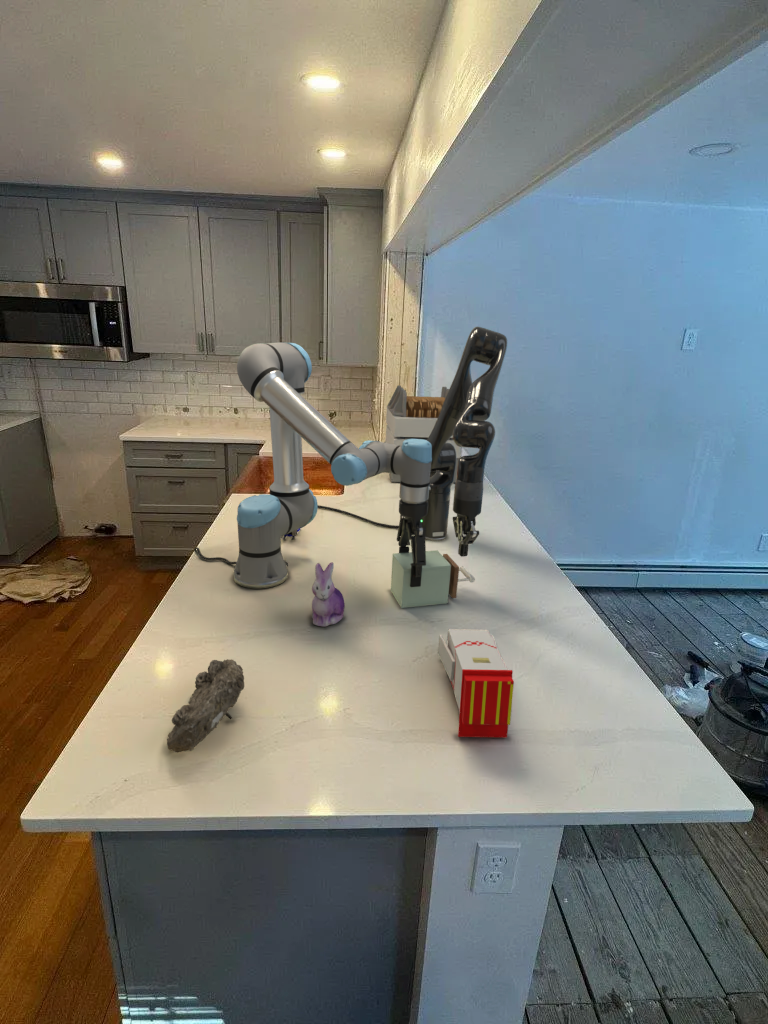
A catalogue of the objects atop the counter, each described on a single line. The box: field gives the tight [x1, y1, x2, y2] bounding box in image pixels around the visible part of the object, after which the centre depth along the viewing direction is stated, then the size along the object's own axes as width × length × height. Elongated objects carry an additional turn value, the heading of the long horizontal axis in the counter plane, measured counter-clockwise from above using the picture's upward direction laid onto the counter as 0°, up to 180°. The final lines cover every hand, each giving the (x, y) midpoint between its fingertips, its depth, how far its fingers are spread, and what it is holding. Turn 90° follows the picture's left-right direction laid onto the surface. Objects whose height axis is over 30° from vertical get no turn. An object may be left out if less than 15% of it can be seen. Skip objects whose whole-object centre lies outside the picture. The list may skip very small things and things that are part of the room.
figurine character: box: [282, 528, 302, 541], centre depth 194 cm, size 7×8×15 cm
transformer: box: [383, 384, 463, 484], centre depth 268 cm, size 34×33×41 cm
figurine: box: [311, 561, 346, 627], centre depth 141 cm, size 9×10×15 cm
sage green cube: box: [390, 549, 451, 609], centre depth 155 cm, size 13×10×11 cm
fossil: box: [166, 658, 245, 754], centre depth 106 cm, size 22×10×15 cm
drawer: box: [442, 553, 476, 599], centre depth 157 cm, size 17×9×9 cm, turn 106°
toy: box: [437, 628, 515, 738], centre depth 117 cm, size 12×13×30 cm
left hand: (408, 577), depth 154 cm, fingers closed on sage green cube, 10 cm apart
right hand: (462, 555), depth 156 cm, fingers closed
